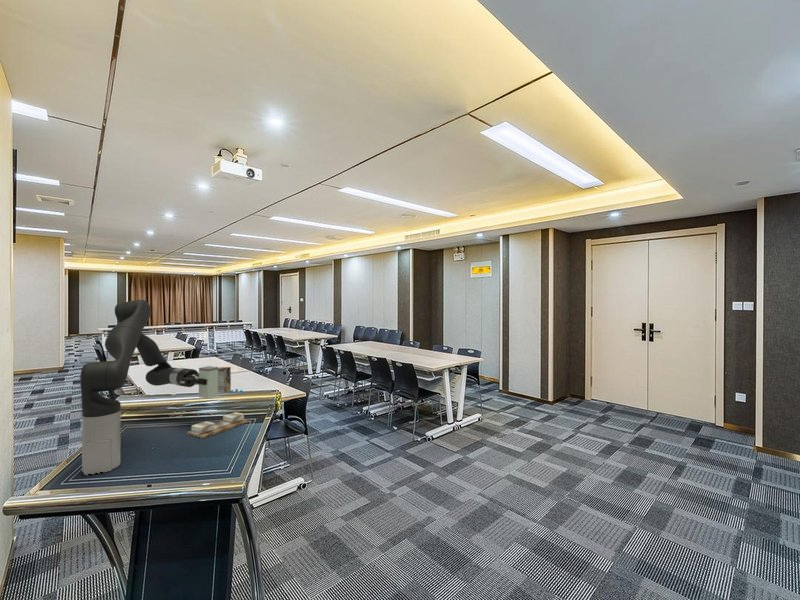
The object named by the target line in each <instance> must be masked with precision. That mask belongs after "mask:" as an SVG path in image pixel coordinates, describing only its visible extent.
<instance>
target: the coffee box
mask: <svg viewBox="0 0 800 600" xmlns="http://www.w3.org/2000/svg"><path fill="white" fill-rule="evenodd" d="M231 373H232V372H231V366H228V367H227V366H226V367H225V366H224V367H223V366H222V367H218V392H231V389H232V388H231V386H232V385H231V384H232V382H231V380H232V378H231V375H232V374H231Z"/></svg>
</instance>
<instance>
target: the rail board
mask: <svg viewBox="0 0 800 600" xmlns="http://www.w3.org/2000/svg"><path fill="white" fill-rule="evenodd" d="M247 422H248V423H249V421H248V420H245V414H244V413H242V412H241V413H240V412H237V411H236V412H235V411H234V412H232V413H228V414H225V415H223V416H222V420H220V421H217V422H211V421H207V420H205V421H203V422H202V421H201V422H199V423H195V424H192V425H191V430H189V431H187V435H188V434H190V435H189V436H191V435H193V436H192V437H195V436H197V437H196V438H198V437H200V438H199V439H202V438H204V439H206V438H205V437H207V436H210V437H212V436H211V435H213V436H215V435H214V434H216V433H218V434H220V433H219V432H221V433H223V432H222V431H224V432H227V431H229V430H228V429H230V430H232V429H231V428H233V427H236V426H238V427H240V426H239V425H241V424H244V423H247ZM248 423H247V424H248ZM244 425H245V424H244ZM241 426H242V425H241ZM236 428H237V427H236ZM233 429H234V428H233ZM226 430H227V431H226ZM216 435H217V434H216ZM207 438H208V437H207Z"/></svg>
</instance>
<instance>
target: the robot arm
mask: <svg viewBox="0 0 800 600" xmlns="http://www.w3.org/2000/svg"><path fill="white" fill-rule="evenodd" d="M151 309H152V308H151V305H150V303H149V302H148V301H146V300H145V299H135V300H130V301H124V302H120V303H117V304H116V305H115V307H114V315H115V318H116V320H117V322H118V324H116V325H115V326H114V327H112V328H111V330H110V331H109V333H108V335H107V337H105V341H104V347H105V349H106V352H107V353H108V355H110V356H111V357H112V358H113V359H115V360H111V361H110V360H108V361H92V362H87V363H85V364H84V365H83V366H82V368H81V372H80V376H79V377H80V380H79V381H80V383H79V384H80V393H81V396H80V397H81V411H82V413H81V414H82V415H81V417H82V419H81V424H82V425H81V427H82V428H81V473H82V472H83V473H84V474H83V473H82V474H83V475H86V474H87V475H86V476H89V475H88V474H92V475H96V474H95V473H98V474H101V473H100V472H103V473H108V471H109V472H111V471H112V470H114V469H116V468H118V467H119V466H120V465H121V420H122V419H121V416H122V415H121V412H122V411H121V406H122V405H121V401H119V400H117V399H113V398H109V397H105V396H103V395H102V394H100V393H99V392H108V391H116V390H119V389H120V390H121V388H123V387H124V385H125V383H126V381H127V377H128V373H129V369H130V365H131V361H132V358H133V356H134V354H135V350H136V349H137V352H138V354H139V355H140V358H141V360H142V362H143V365H145V366H146V367H153V366H155V367H154V368H152V369H151V370H148V372H146V374H145V380H146V382H147V383H148V384H149V385H151V386H163V385H169V384H170V385H175V386H179V387H184V388H186V387H187V388H192V387H194V386H196V385H197V386H199V384H201V385H207V379H200V378H199V371H198V370H196V369H194V368H184V367H173V366H172V365H171V364H170V363H169V362H168V361H167V360H166V358H164V356H163V355H162V352H161V350H160V347H159V345H158V344H157V342H155V340H153V339H152V338H151V337H149V336H147V335H146V334H144V333H143V330H144V329H145V327H146V325H147V323H148V322H149V320H150V318H151V314H152V310H151Z"/></svg>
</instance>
